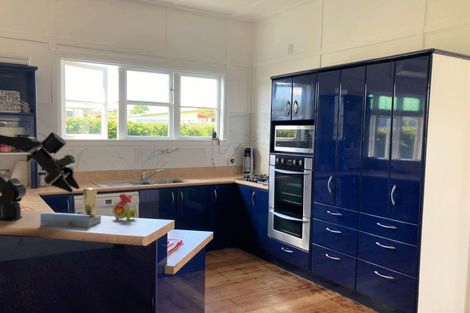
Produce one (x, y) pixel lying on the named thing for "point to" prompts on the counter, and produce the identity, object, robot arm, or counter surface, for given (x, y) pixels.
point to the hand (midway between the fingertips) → (75, 190)
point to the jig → (69, 220)
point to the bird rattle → (120, 209)
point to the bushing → (89, 201)
